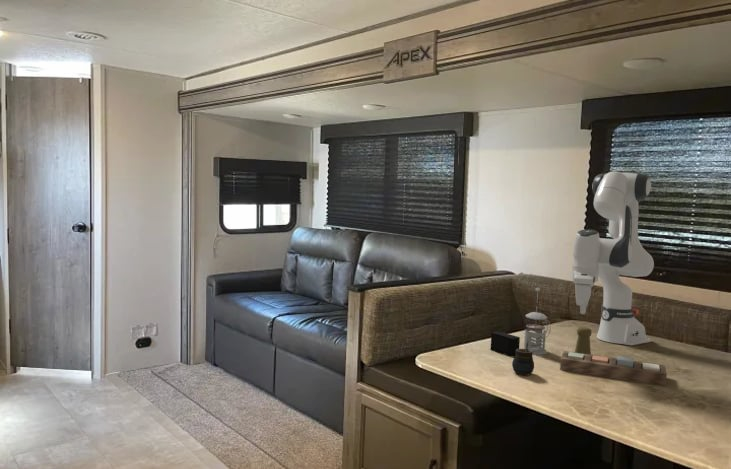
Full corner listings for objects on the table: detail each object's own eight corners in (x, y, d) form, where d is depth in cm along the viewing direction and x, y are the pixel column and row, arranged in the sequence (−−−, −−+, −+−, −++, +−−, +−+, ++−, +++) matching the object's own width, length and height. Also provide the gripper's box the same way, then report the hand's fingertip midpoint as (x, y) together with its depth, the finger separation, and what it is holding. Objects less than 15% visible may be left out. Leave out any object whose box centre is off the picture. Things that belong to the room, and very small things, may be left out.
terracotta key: (591, 365, 200) (591, 358, 200) (592, 362, 205) (592, 355, 205) (607, 368, 198) (607, 361, 198) (607, 364, 203) (608, 357, 203)
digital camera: (521, 354, 219) (522, 336, 219) (512, 356, 216) (513, 338, 215) (499, 348, 227) (500, 330, 227) (490, 350, 224) (491, 332, 224)
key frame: (560, 369, 202) (560, 358, 202) (563, 361, 212) (563, 350, 212) (665, 386, 188) (666, 374, 188) (663, 376, 198) (664, 365, 198)
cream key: (642, 373, 194) (643, 366, 194) (642, 369, 198) (642, 362, 198) (659, 376, 192) (659, 368, 192) (658, 372, 196) (658, 364, 196)
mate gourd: (510, 374, 194) (512, 345, 194) (512, 368, 201) (514, 340, 201) (532, 378, 192) (534, 348, 191) (534, 371, 199) (536, 343, 198)
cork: (592, 358, 217) (594, 330, 216) (575, 357, 218) (577, 328, 217) (589, 354, 223) (591, 326, 222) (573, 352, 224) (575, 324, 223)
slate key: (616, 366, 197) (617, 359, 197) (617, 362, 202) (617, 355, 201) (632, 369, 195) (633, 361, 195) (632, 365, 200) (633, 358, 199)
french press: (515, 348, 227) (519, 285, 225) (539, 346, 232) (543, 284, 230) (532, 355, 218) (536, 290, 216) (556, 353, 223) (560, 289, 221)
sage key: (567, 362, 204) (567, 355, 203) (568, 358, 208) (569, 351, 208) (582, 364, 202) (582, 357, 201) (583, 360, 206) (583, 354, 206)
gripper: (578, 270, 217) (576, 306, 219) (573, 279, 198) (571, 318, 200) (596, 271, 214) (593, 308, 216) (592, 280, 196) (590, 320, 197)
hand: (582, 313), depth 208 cm, fingers closed
